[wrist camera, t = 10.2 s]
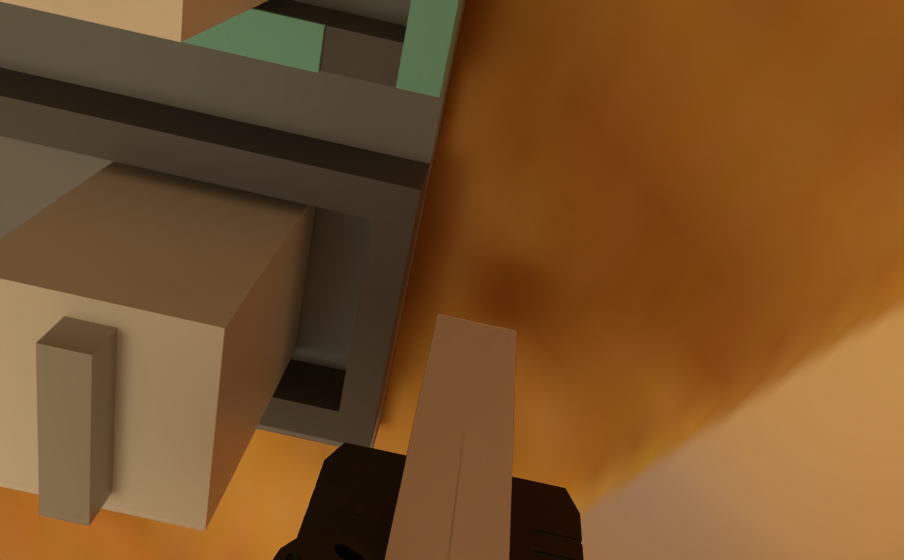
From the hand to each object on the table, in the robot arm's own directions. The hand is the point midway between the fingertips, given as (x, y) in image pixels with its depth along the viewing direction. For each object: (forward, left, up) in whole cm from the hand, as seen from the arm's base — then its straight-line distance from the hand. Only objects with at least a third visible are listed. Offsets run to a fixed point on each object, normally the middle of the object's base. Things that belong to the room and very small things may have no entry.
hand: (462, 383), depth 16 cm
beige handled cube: (0, -6, -3) cm, 6 cm away
